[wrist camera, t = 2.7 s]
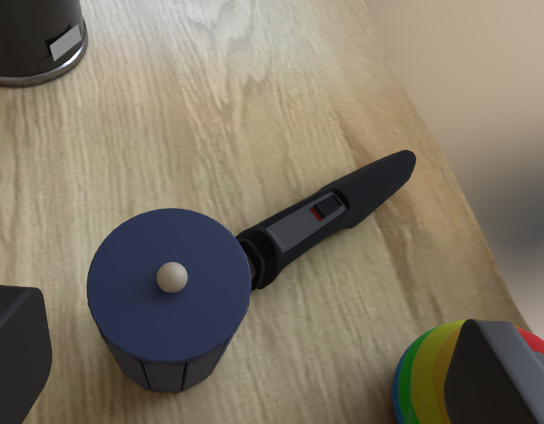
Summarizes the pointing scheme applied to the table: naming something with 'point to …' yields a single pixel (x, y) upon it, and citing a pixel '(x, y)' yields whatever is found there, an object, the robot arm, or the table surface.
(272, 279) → the electric trimmer
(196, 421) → the table surface
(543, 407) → the robot arm
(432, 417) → the decorative egg
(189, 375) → the slatted storage jar
